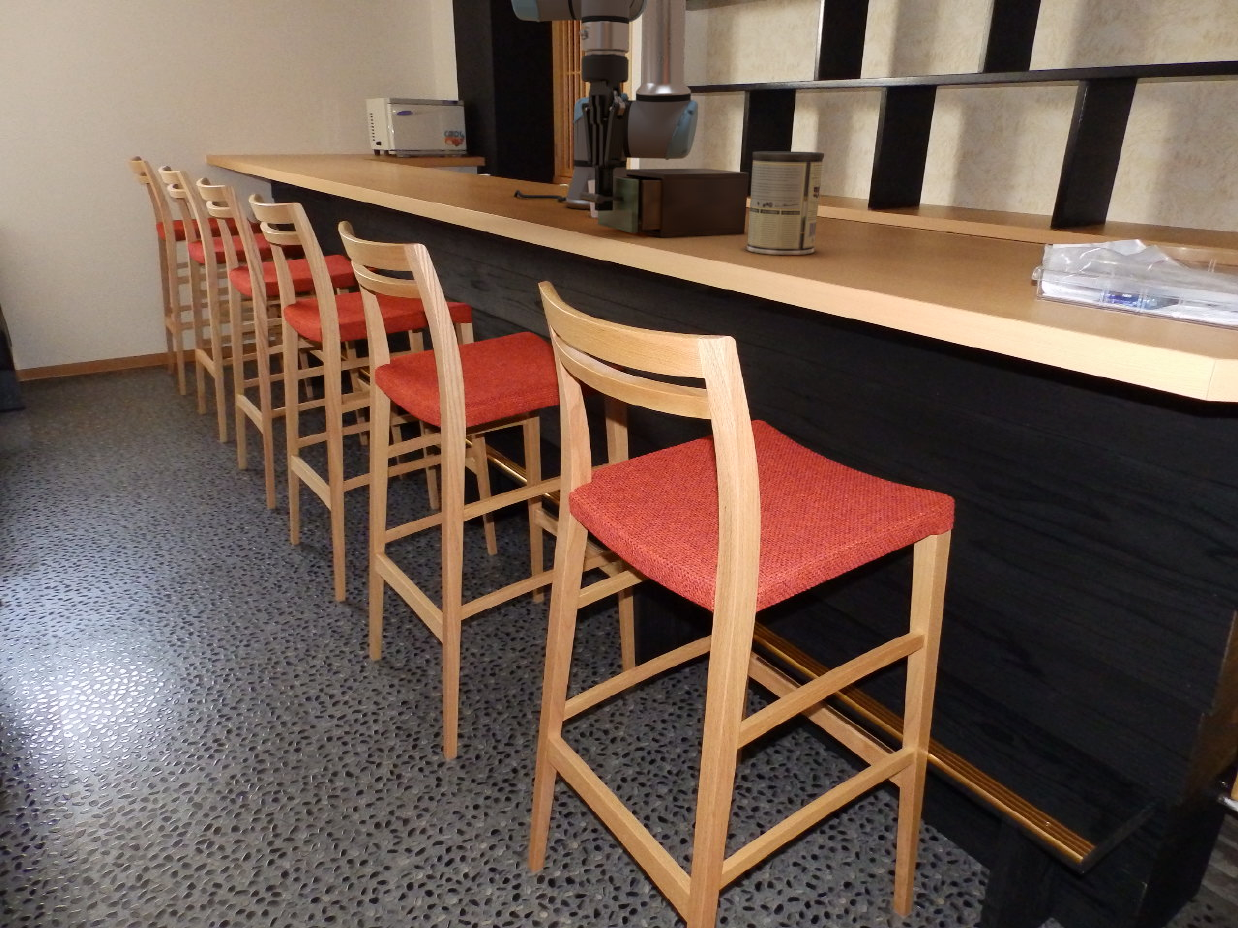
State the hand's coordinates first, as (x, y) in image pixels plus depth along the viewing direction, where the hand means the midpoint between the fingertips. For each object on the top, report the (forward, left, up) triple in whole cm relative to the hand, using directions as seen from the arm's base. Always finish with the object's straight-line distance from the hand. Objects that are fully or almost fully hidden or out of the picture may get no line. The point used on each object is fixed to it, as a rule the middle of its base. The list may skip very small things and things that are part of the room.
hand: (603, 210), depth 141 cm
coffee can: (+27, +17, -4) cm, 32 cm away
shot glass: (-26, +13, -4) cm, 29 cm away
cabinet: (0, +16, -4) cm, 16 cm away
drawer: (0, +7, -3) cm, 8 cm away
